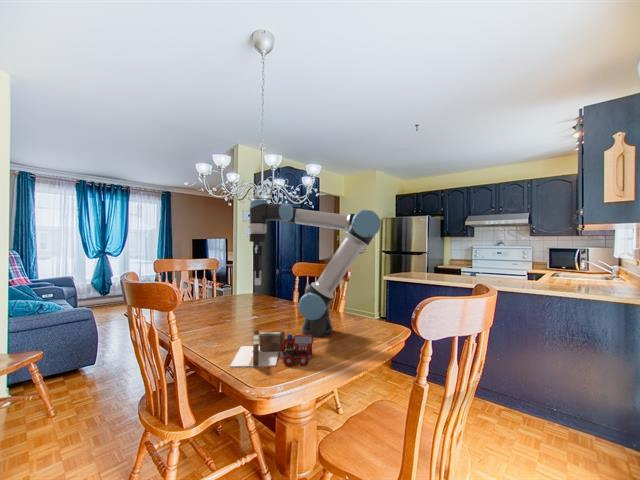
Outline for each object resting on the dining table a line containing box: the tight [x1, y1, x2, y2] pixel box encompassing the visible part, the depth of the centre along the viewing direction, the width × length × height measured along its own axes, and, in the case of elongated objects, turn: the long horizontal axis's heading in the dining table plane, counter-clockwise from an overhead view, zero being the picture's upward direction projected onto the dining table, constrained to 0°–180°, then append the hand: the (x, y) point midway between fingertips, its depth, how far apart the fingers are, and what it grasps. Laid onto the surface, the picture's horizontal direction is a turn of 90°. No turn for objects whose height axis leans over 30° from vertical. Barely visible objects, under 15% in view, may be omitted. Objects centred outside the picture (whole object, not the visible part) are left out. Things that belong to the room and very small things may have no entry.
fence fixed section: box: [252, 328, 286, 351], centre depth 115 cm, size 12×2×9 cm, turn 94°
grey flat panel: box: [252, 334, 260, 366], centre depth 106 cm, size 13×2×7 cm, turn 12°
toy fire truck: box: [278, 333, 314, 367], centre depth 105 cm, size 7×12×10 cm, turn 87°
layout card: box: [229, 345, 279, 368], centre depth 111 cm, size 16×19×1 cm
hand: (257, 284), depth 131 cm, fingers closed
